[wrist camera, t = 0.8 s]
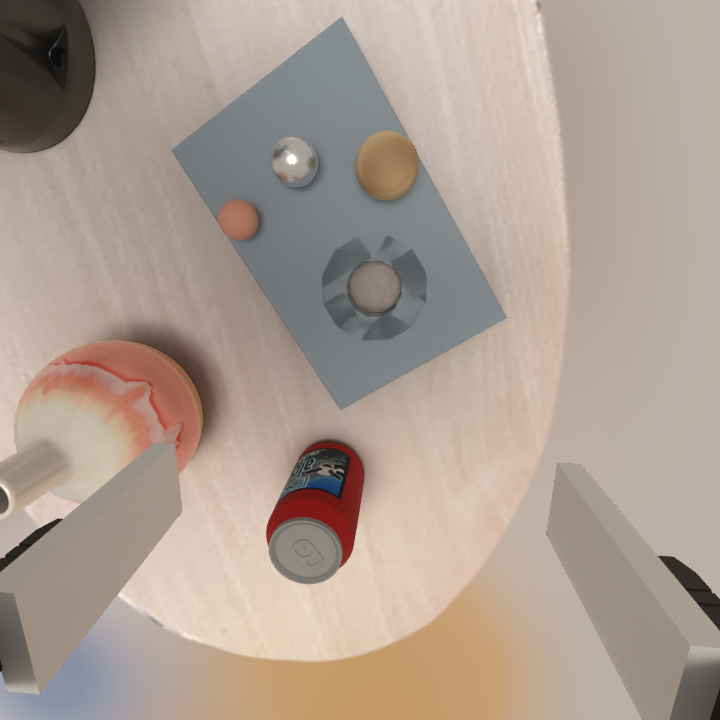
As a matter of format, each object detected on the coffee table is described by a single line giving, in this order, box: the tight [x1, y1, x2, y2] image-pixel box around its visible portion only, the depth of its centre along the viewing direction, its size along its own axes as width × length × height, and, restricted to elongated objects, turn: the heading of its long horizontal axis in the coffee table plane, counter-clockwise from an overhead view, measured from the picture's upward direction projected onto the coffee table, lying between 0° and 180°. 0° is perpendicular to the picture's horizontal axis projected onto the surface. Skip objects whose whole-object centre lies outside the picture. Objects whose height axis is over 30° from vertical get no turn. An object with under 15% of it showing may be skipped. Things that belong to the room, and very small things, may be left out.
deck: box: [171, 17, 507, 410], centre depth 35 cm, size 25×16×2 cm, turn 32°
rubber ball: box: [218, 199, 259, 240], centre depth 33 cm, size 3×3×3 cm
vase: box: [0, 340, 203, 520], centre depth 33 cm, size 14×14×18 cm
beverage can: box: [266, 442, 364, 584], centre depth 36 cm, size 7×7×12 cm
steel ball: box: [270, 135, 318, 188], centre depth 31 cm, size 4×4×4 cm
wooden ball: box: [355, 131, 419, 200], centre depth 30 cm, size 4×4×4 cm
